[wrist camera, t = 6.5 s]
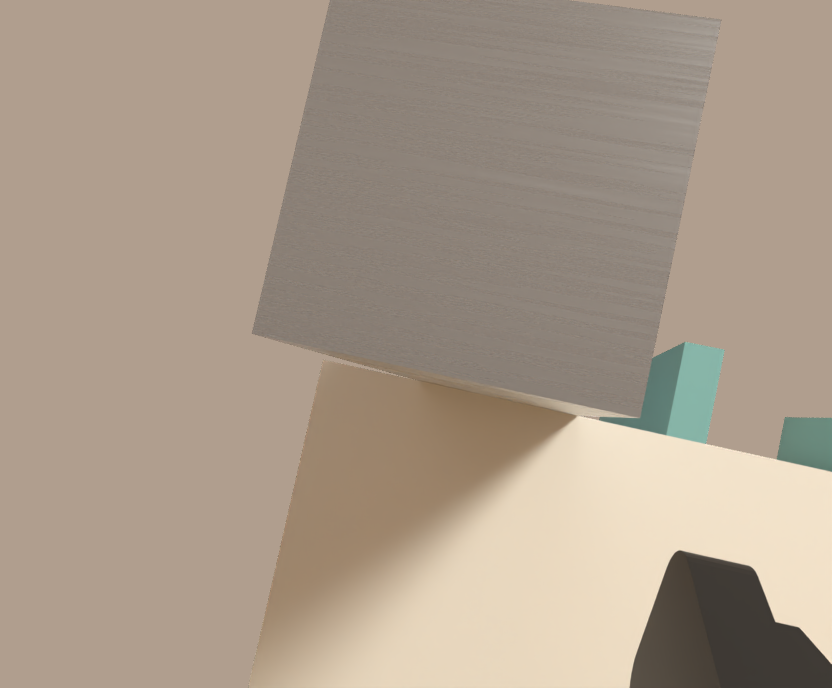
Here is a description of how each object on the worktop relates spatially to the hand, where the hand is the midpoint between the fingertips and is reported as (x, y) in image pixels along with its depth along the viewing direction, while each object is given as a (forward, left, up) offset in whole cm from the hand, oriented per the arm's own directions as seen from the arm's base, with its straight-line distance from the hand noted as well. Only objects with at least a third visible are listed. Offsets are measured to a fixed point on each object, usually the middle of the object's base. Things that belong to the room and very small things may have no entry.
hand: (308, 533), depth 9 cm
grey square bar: (+1, +12, +2) cm, 12 cm away
